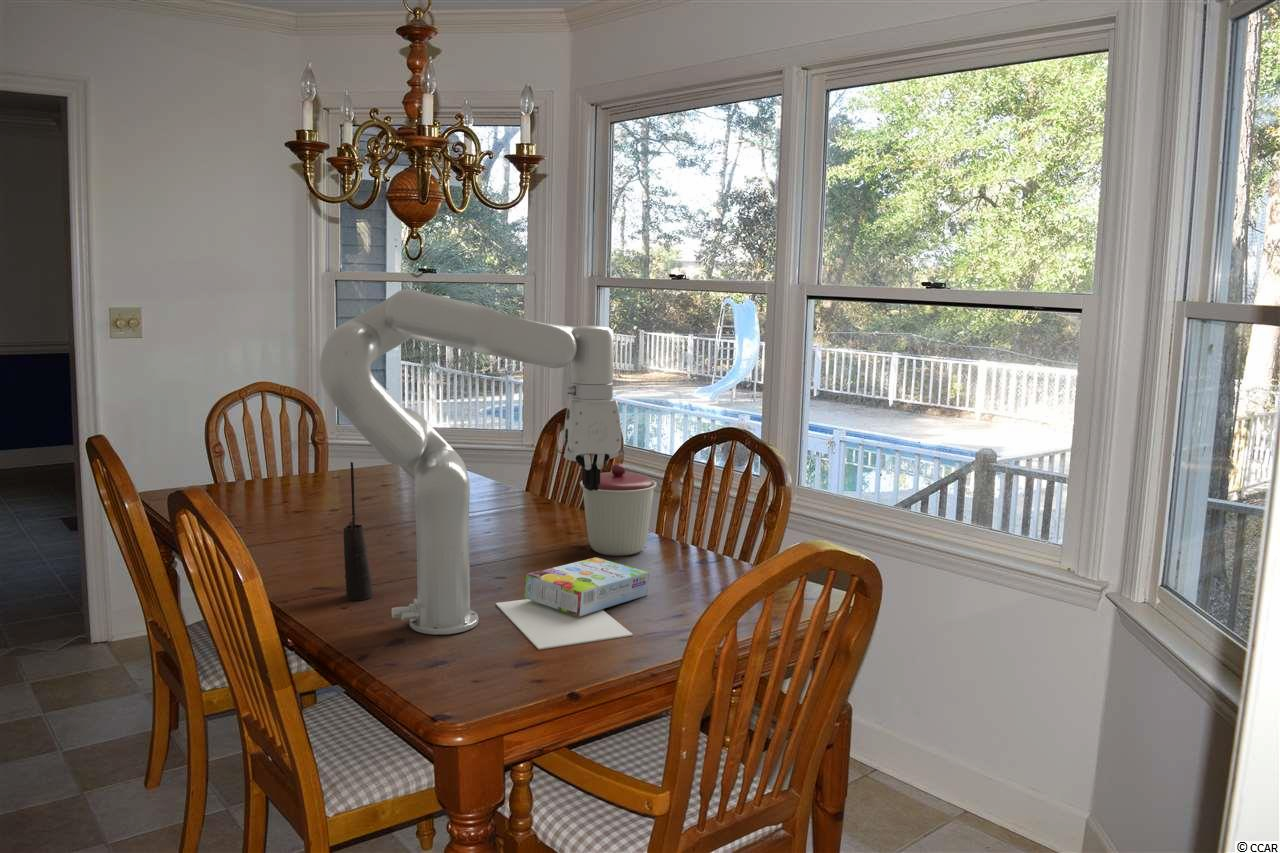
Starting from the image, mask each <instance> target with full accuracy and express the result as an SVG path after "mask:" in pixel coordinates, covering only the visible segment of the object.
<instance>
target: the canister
mask: <svg viewBox="0 0 1280 853" xmlns="http://www.w3.org/2000/svg"><path fill="white" fill-rule="evenodd" d="M579 485H580V487H581V488H582V494H583V495H582V496H583V503H584V504H583V505H584V515H585V521H586V522H585V523H586V524H585V525H586V530H587V539H588V542H589V546H590V548H591V549H592V550H593V551H595V552H596V553H598V554H602V555H604V556H605V555H606V556H614V557H615V556H619V557H620V556H621V557H623V556H630V555H634V554H637V553H640V552H642V550H643V549H644V548H645V546H646V543H647V540H648V535H649V527H650V522H651V515H652V514H651V513H652V506H653V498H654V490H655V488H656V487H657V482H656V481H655V480H653V479H651V478H650V476H648V475H645V474H641V473H635V472H628V471H627V467H626V466H625V464H623V463H620V462H619V463H614V464H613V465H611V468H610V472H609V471H607V472H606V471H605V472H600V485H598V490H593V491H589V490H587V489H586V488H585V487H584V485H583V483H582V480H581V481H580V482H579Z"/></svg>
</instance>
